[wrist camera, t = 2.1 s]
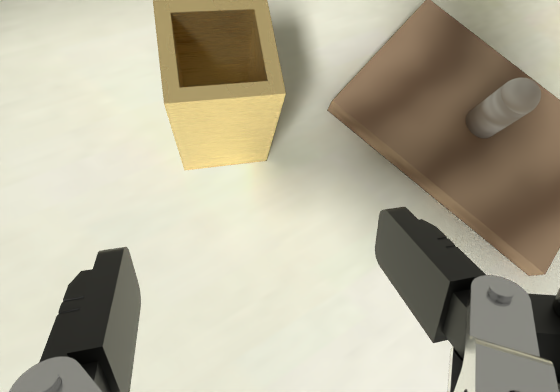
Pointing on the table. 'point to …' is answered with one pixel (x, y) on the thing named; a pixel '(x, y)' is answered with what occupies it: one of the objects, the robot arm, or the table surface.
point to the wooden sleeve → (219, 79)
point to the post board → (464, 132)
